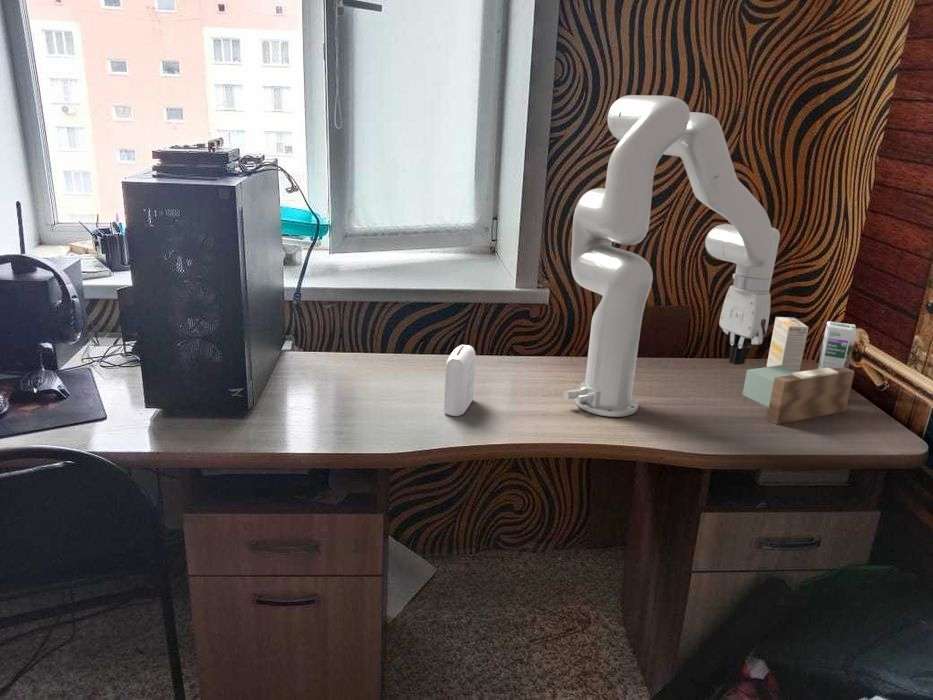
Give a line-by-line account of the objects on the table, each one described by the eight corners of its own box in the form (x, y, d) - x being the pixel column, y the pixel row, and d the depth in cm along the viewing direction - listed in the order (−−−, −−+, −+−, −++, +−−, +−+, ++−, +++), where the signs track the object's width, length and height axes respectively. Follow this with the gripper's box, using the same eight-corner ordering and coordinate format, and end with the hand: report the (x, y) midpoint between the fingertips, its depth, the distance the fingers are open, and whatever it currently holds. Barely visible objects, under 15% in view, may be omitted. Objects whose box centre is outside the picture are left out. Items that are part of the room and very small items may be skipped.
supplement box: (798, 381, 172) (810, 327, 167) (778, 380, 172) (788, 325, 167) (785, 369, 179) (795, 317, 175) (765, 368, 179) (775, 315, 175)
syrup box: (815, 387, 168) (828, 326, 164) (814, 379, 174) (827, 319, 169) (843, 392, 166) (857, 330, 162) (841, 383, 172) (855, 323, 167)
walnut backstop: (776, 424, 147) (785, 380, 144) (766, 419, 149) (774, 375, 146) (845, 411, 155) (855, 369, 152) (834, 406, 157) (844, 365, 154)
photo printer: (454, 396, 152) (457, 338, 148) (475, 399, 151) (478, 341, 147) (440, 415, 142) (443, 354, 138) (462, 418, 141) (466, 357, 138)
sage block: (786, 417, 151) (791, 389, 150) (742, 395, 162) (746, 369, 160) (820, 410, 156) (826, 384, 154) (775, 390, 166) (780, 365, 164)
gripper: (714, 276, 166) (700, 354, 172) (765, 292, 154) (749, 376, 159) (739, 275, 170) (724, 351, 175) (791, 291, 157) (774, 372, 163)
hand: (736, 363), depth 167 cm, fingers closed
